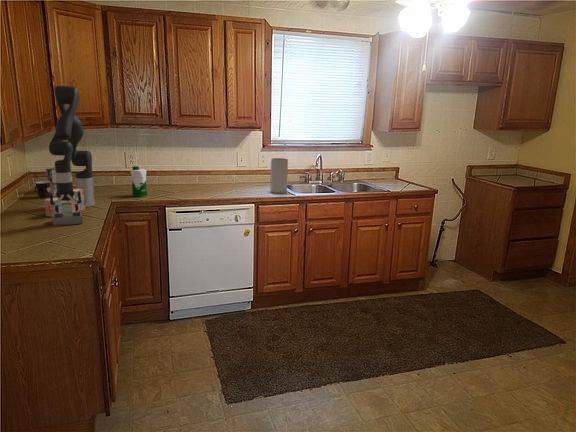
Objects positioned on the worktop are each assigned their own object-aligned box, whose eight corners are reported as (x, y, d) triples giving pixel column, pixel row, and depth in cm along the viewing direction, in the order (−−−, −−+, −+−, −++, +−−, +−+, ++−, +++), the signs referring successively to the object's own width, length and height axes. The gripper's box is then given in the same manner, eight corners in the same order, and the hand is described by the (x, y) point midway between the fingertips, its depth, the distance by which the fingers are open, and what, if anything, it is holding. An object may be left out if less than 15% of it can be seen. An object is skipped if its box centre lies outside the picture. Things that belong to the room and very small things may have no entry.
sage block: (63, 220, 223) (61, 202, 221) (73, 220, 225) (71, 201, 223) (63, 223, 219) (61, 204, 216) (73, 222, 221) (71, 203, 218)
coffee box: (63, 192, 295) (61, 169, 291) (53, 193, 290) (51, 170, 286) (56, 190, 300) (54, 167, 296) (47, 191, 295) (44, 168, 291)
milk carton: (138, 194, 298) (137, 165, 293) (149, 195, 295) (148, 166, 291) (130, 196, 290) (128, 167, 285) (141, 197, 287) (139, 168, 282)
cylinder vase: (267, 192, 321) (268, 159, 315) (274, 189, 332) (275, 157, 326) (283, 194, 317) (284, 160, 310) (289, 191, 328) (290, 158, 322)
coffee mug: (47, 195, 283) (45, 180, 281) (54, 197, 279) (53, 182, 277) (29, 198, 273) (27, 182, 271) (36, 200, 269) (35, 184, 267)
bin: (53, 221, 223) (53, 213, 222) (82, 219, 229) (81, 211, 228) (53, 226, 214) (52, 218, 213) (82, 223, 220) (81, 216, 219)
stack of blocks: (54, 217, 231) (52, 195, 228) (45, 216, 233) (43, 194, 230) (85, 209, 250) (83, 189, 247) (77, 208, 252) (75, 188, 249)
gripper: (79, 179, 223) (82, 209, 227) (48, 180, 217) (51, 211, 221) (79, 181, 217) (82, 212, 221) (47, 182, 210) (51, 214, 214)
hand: (67, 211), depth 221 cm, fingers open, 8 cm apart
